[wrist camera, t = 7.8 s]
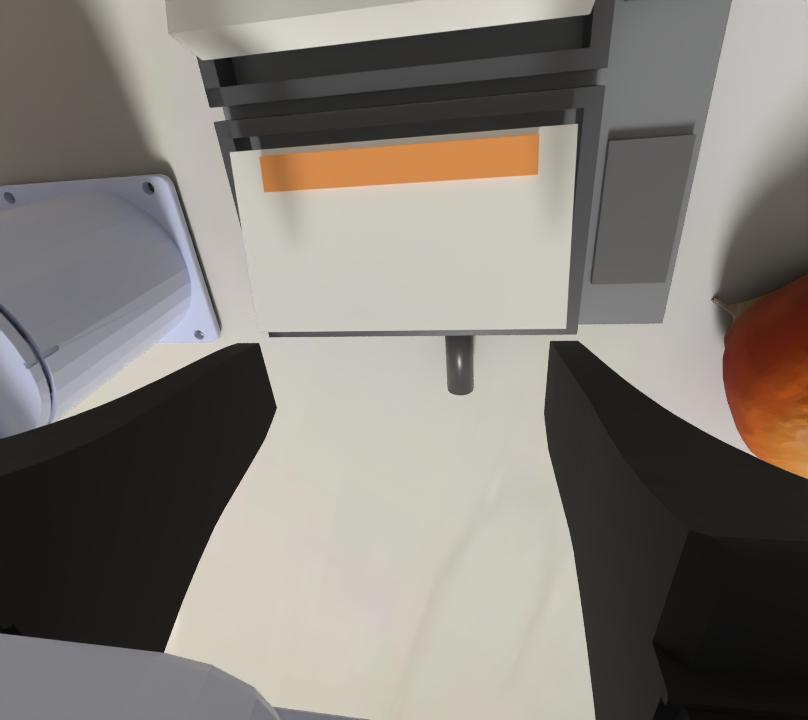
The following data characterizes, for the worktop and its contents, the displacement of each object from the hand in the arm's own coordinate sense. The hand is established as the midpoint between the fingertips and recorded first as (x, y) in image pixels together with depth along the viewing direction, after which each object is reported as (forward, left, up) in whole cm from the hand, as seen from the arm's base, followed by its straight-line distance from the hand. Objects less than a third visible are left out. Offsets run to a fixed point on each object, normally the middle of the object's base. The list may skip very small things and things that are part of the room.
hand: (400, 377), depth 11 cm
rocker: (0, +2, -5) cm, 6 cm away
